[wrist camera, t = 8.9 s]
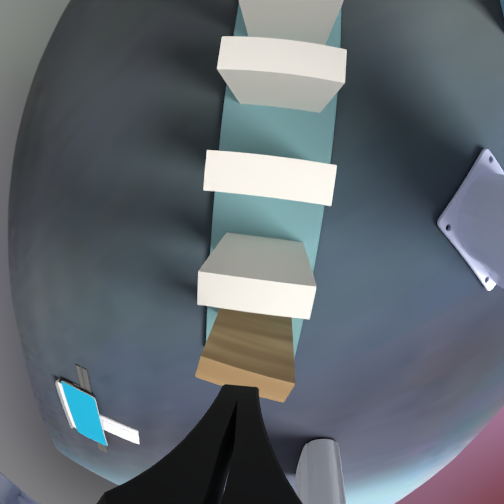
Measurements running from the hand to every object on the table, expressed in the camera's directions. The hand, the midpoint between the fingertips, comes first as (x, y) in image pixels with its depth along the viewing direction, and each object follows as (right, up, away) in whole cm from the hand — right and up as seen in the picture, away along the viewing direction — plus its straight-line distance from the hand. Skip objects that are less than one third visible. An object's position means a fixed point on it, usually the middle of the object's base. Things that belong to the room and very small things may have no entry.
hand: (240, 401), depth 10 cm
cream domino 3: (+2, +11, +7) cm, 13 cm away
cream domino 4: (+1, +6, +8) cm, 11 cm away
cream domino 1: (+3, +20, +4) cm, 21 cm away
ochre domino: (+1, +1, +10) cm, 10 cm away
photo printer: (+8, -18, +16) cm, 26 cm away
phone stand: (-20, -16, +18) cm, 31 cm away
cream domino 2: (+2, +16, +5) cm, 17 cm away
